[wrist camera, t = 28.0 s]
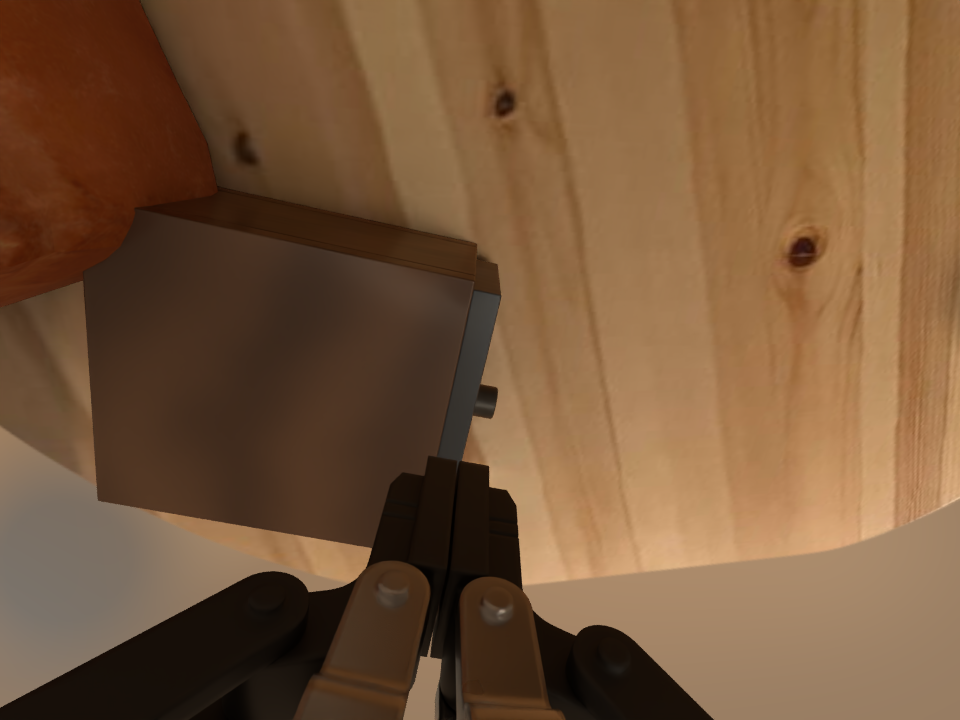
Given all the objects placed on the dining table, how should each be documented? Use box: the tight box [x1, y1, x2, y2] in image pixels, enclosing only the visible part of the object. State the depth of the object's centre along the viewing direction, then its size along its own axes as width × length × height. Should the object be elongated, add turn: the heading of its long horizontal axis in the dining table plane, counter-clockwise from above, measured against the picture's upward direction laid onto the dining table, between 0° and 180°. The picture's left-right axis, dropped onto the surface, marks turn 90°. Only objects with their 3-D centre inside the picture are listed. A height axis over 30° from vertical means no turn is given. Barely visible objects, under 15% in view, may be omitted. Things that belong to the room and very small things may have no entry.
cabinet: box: [83, 187, 477, 548], centre depth 26 cm, size 15×14×8 cm
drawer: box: [437, 260, 501, 473], centre depth 27 cm, size 15×13×6 cm
